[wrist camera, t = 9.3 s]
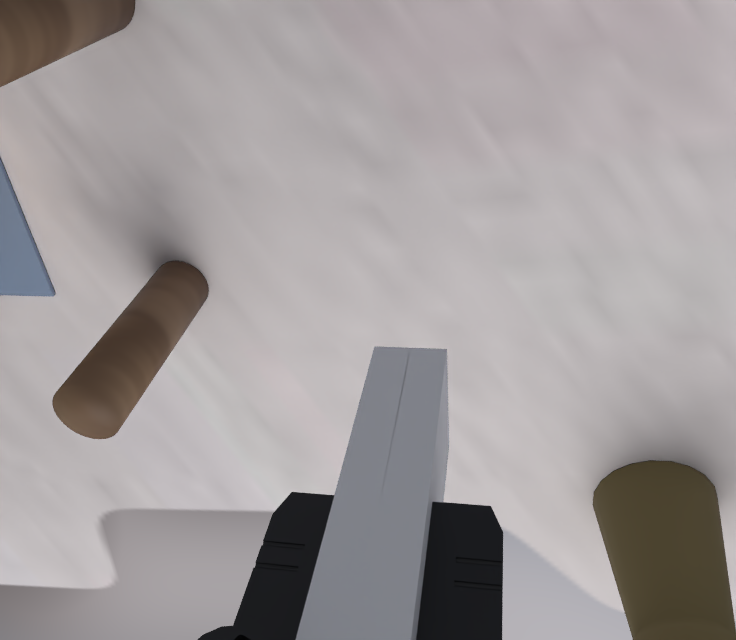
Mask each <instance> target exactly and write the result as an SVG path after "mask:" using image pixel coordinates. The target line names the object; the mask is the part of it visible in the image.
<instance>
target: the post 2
mask: <svg viewBox="0 0 736 640" xmlns="http://www.w3.org/2000/svg"><path fill="white" fill-rule="evenodd" d="M208 292H209V289H208V284H207V281H206V279H205V278H204V276H203V275H202V274H201V273H200V272H199V271H198V270H197V269H196V268H195V267H193V266H191V265H189V264H187V263H184V262H180V261H171V262H167V263H165V264H163V265H162V266H161V267H160V268H159V269H158V270H157V271H156V273H155V274H154V275H153V276H152V278H151V279H150V280H149V281H148V282H147V284H146V285H145V286H144V287H143V288H142V290H141V291H140V292H139V293H138V294H137V296H136V297H135V298H134V299H133V300H132V302H131V303H130V304H129V305H128V306H127V308H126V309H125V310H124V311H123V312H122V314H121V315H120V316H119V317H118V318H117V320H116V321H115V322H114V323H113V325H112V326H111V327H110V328H109V329H108V331H107V332H106V333H105V334H104V335H103V337H102V338H101V339H100V340H99V341H98V343H97V344H96V345H95V346H94V347H93V349H92V350H91V351H90V352H89V353H88V355H87V356H86V357H85V358H84V359H83V361H82V362H81V363H80V364H79V365H78V367H77V368H76V369H75V370H74V371H73V373H72V374H71V375H70V376H69V378H68V379H67V380H66V381H65V382H64V384H63V385H62V386H61V387H60V388H59V390H58V391H57V392H56V393H55V395H54V397H53V408H54V411H55V413H56V415H57V416H58V418H59V419H60V420H61V421H62V422H63V423H64V424H65V425H66V426H67V427H68V428H70V429H71V430H73V431H74V432H76V433H78V434H80V435H83V436H85V437H89V438H93V439H106V438H110V437H112V436H114V435H115V434H116V433H117V432H118V431H119V429H120V428H121V426H122V425H123V423H124V422H125V420H126V419H127V417H128V416H129V414H130V413H131V411H132V410H133V408H134V407H135V405H136V404H137V402H138V401H139V399H140V398H141V396H142V395H143V393H144V392H145V390H146V389H147V387H148V386H149V384H150V383H151V381H152V380H153V378H154V377H155V375H156V374H157V372H158V371H159V369H160V368H161V366H162V365H163V363H164V362H165V360H166V359H167V357H168V356H169V354H170V353H171V351H172V350H173V348H174V347H175V345H176V344H177V342H178V341H179V339H180V338H181V336H182V335H183V333H184V332H185V330H186V329H187V327H188V326H189V324H190V323H191V321H192V320H193V318H194V317H195V315H196V314H197V312H198V311H199V309H200V308H201V306H202V305H203V303H204V302H205V301H206V299H207V297H208Z"/></svg>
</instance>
